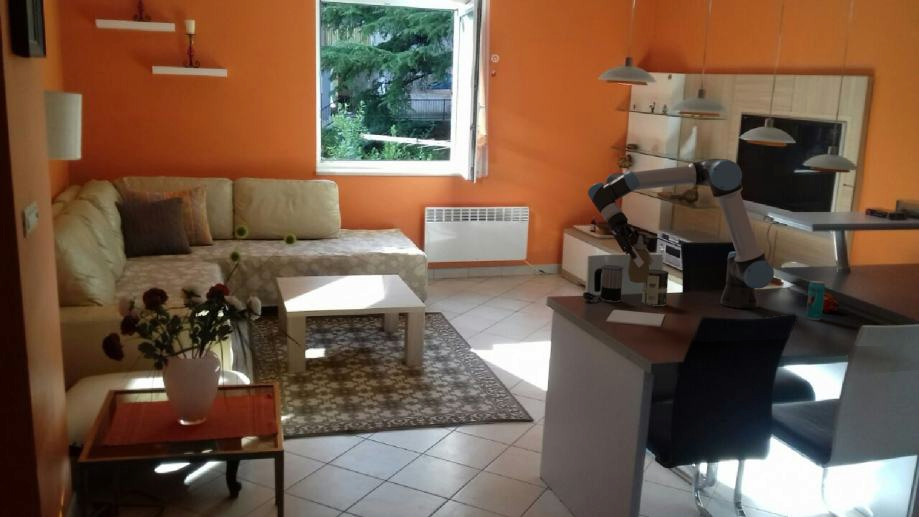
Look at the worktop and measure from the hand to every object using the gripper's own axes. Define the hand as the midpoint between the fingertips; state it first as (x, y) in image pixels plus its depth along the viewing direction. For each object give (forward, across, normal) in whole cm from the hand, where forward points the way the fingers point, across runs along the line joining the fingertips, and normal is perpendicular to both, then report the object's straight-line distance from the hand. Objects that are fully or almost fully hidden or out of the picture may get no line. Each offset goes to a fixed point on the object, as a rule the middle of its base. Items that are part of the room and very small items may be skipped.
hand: (646, 264), depth 307 cm
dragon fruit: (+41, -77, +9) cm, 87 cm away
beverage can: (+43, -58, +12) cm, 73 cm away
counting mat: (+13, 0, -18) cm, 22 cm away
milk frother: (-7, -16, -39) cm, 42 cm away
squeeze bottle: (+3, 0, -8) cm, 8 cm away
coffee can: (+5, -29, -27) cm, 40 cm away
